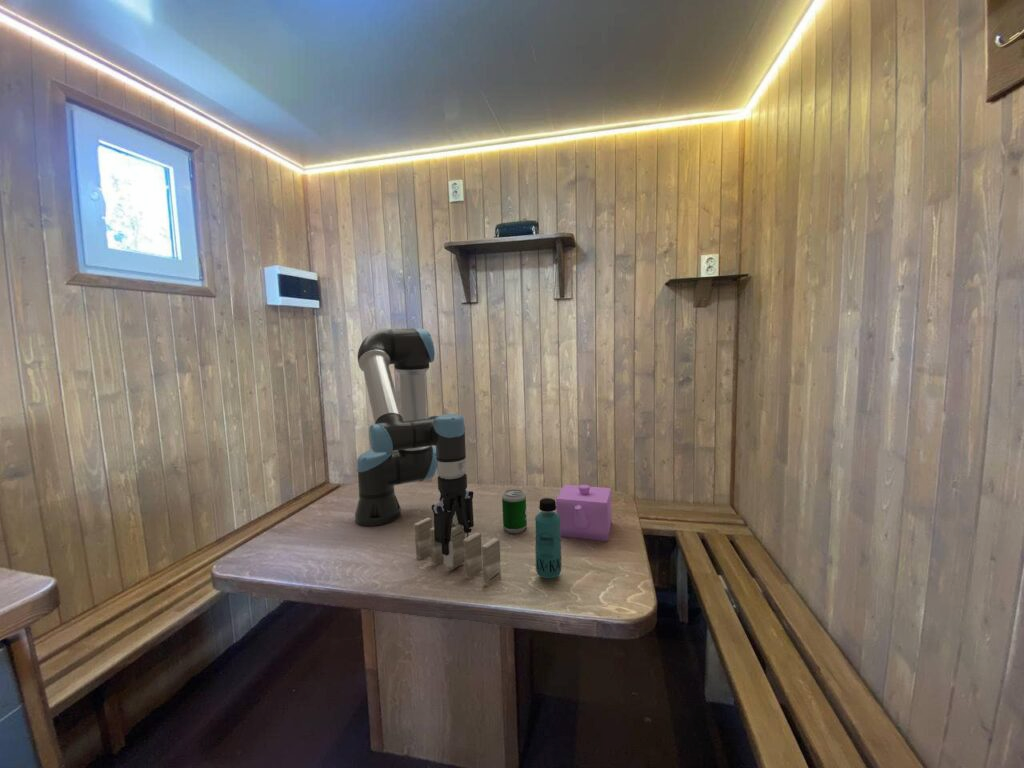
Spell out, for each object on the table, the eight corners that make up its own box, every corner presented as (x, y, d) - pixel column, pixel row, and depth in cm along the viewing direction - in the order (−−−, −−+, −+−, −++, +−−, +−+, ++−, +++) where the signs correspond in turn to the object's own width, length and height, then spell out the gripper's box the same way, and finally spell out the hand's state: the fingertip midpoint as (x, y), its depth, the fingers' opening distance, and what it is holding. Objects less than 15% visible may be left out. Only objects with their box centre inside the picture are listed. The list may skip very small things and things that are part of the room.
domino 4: (465, 577, 107) (463, 540, 106) (477, 568, 111) (476, 532, 110) (469, 579, 106) (468, 541, 105) (482, 570, 110) (480, 533, 109)
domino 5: (483, 585, 103) (481, 546, 102) (495, 575, 107) (494, 537, 106) (488, 587, 102) (487, 547, 101) (501, 577, 106) (499, 539, 105)
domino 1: (416, 558, 117) (414, 523, 116) (429, 551, 121) (427, 517, 120) (420, 560, 116) (418, 525, 115) (433, 552, 120) (431, 518, 119)
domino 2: (431, 564, 114) (429, 529, 113) (444, 556, 118) (443, 522, 117) (435, 566, 113) (433, 530, 112) (448, 558, 117) (447, 523, 116)
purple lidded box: (551, 547, 121) (550, 500, 120) (567, 513, 145) (566, 473, 144) (605, 553, 117) (604, 504, 115) (612, 517, 140) (612, 476, 139)
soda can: (524, 535, 129) (523, 497, 128) (500, 533, 131) (499, 496, 130) (528, 524, 137) (527, 488, 135) (506, 523, 138) (504, 487, 137)
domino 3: (447, 568, 110) (445, 531, 109) (460, 559, 114) (459, 524, 113) (452, 570, 109) (450, 532, 108) (465, 561, 113) (463, 525, 112)
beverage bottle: (534, 571, 109) (531, 496, 107) (559, 569, 109) (557, 494, 107) (537, 585, 102) (535, 505, 100) (564, 583, 103) (563, 504, 101)
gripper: (437, 487, 100) (442, 580, 102) (485, 467, 114) (488, 549, 117) (415, 482, 104) (420, 571, 106) (464, 463, 119) (468, 543, 121)
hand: (456, 560), depth 112 cm, fingers closed on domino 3, 5 cm apart
